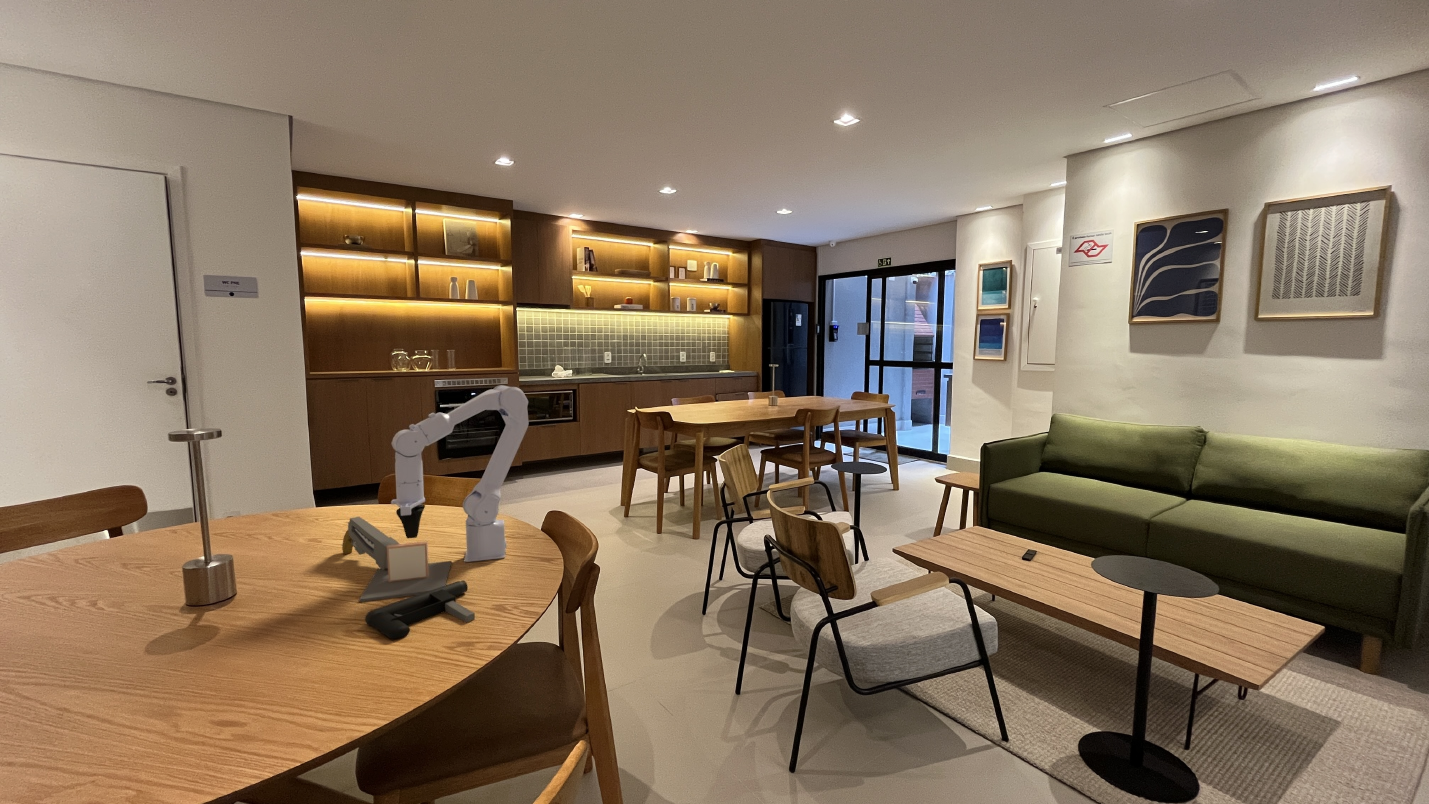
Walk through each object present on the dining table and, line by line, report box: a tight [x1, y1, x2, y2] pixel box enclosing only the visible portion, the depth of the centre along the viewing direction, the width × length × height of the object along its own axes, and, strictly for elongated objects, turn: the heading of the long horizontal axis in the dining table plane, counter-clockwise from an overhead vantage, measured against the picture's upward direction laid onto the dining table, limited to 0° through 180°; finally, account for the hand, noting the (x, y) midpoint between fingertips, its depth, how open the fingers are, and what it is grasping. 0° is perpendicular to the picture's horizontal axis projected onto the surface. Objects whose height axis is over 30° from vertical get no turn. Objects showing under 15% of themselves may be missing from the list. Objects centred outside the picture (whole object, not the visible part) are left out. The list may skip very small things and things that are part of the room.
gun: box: [341, 516, 401, 570], centre depth 144 cm, size 3×25×15 cm, turn 56°
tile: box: [387, 540, 429, 582], centre depth 132 cm, size 8×2×8 cm, turn 109°
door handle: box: [364, 580, 476, 641], centre depth 115 cm, size 3×20×16 cm
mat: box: [358, 560, 452, 603], centre depth 133 cm, size 16×18×1 cm
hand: (412, 537), depth 139 cm, fingers closed
